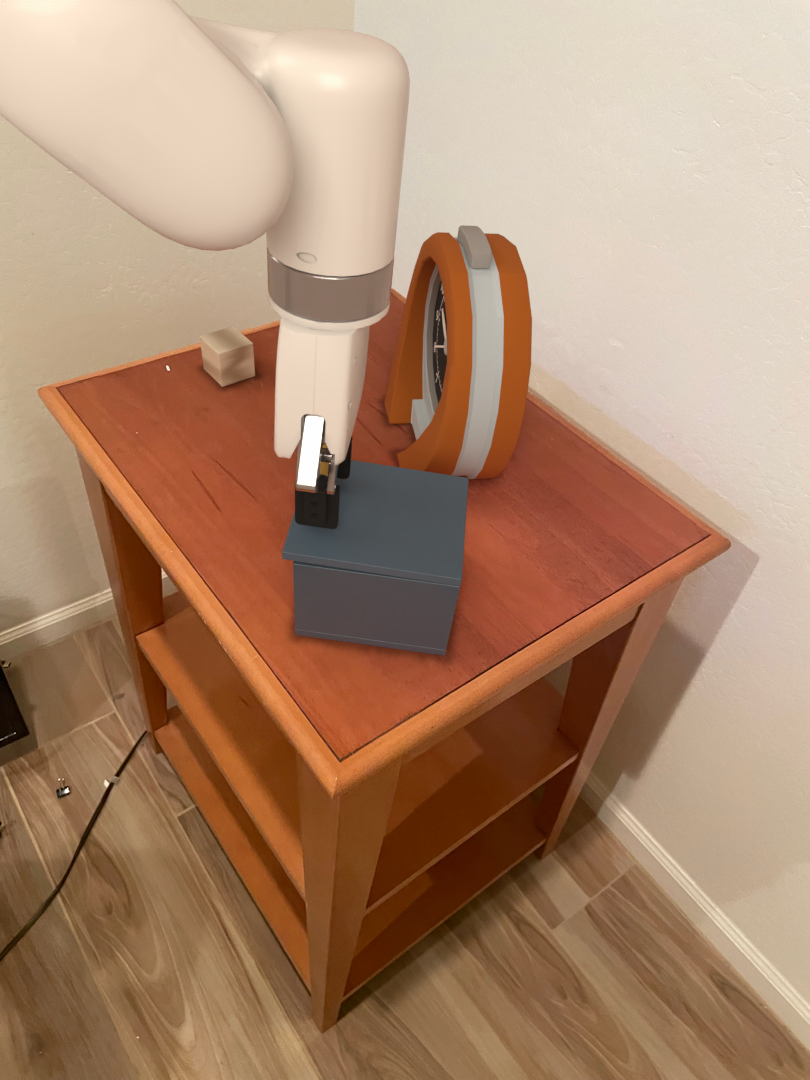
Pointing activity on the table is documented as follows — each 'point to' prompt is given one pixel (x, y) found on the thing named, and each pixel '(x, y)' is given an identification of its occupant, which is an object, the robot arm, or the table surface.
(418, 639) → the chest
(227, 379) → the block
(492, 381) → the alarm clock
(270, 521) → the table surface
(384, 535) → the lid
